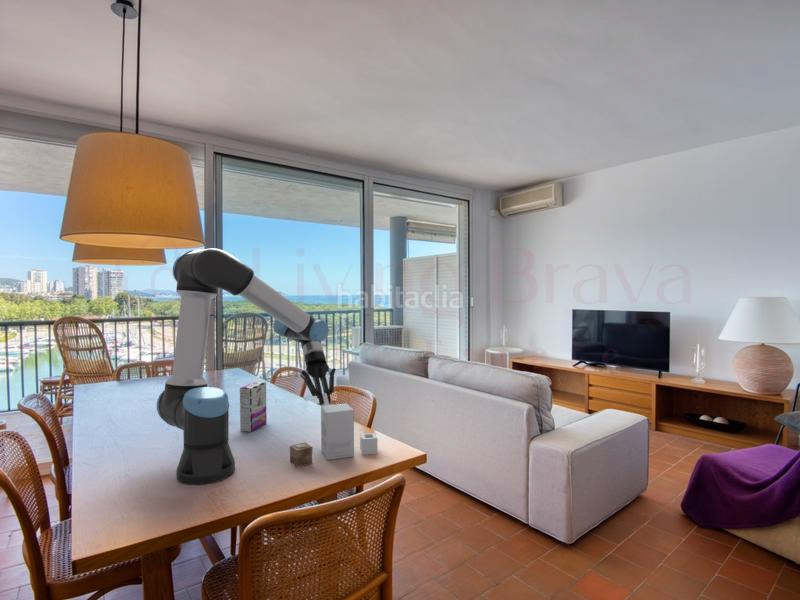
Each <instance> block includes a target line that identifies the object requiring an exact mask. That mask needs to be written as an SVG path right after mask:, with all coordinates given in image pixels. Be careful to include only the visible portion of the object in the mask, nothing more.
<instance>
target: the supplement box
mask: <svg viewBox="0 0 800 600" xmlns="http://www.w3.org/2000/svg"><path fill="white" fill-rule="evenodd" d="M320 427H321V428H320V435H321V436H320V439H321V440H320V445H321V446H320V451H321V453H322V455H323V457H324V458H325V460H326V461H333V460H338V459H344V458H352V457H355V410H354V409H353V408H352V407H351V406H350V404H348V403H339V404H338V403H337V404H329V405H325V406H323V405H320Z"/></svg>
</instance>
